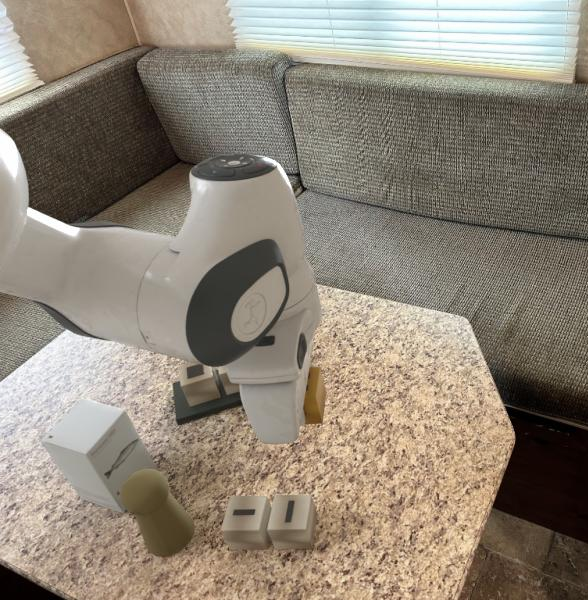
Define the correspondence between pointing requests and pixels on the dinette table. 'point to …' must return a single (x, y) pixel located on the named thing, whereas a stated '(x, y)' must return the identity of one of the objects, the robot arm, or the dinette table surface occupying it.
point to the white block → (292, 521)
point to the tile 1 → (198, 383)
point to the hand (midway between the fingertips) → (302, 399)
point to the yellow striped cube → (315, 397)
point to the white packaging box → (97, 451)
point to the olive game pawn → (157, 513)
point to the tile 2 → (227, 381)
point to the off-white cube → (247, 522)
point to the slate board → (203, 409)
